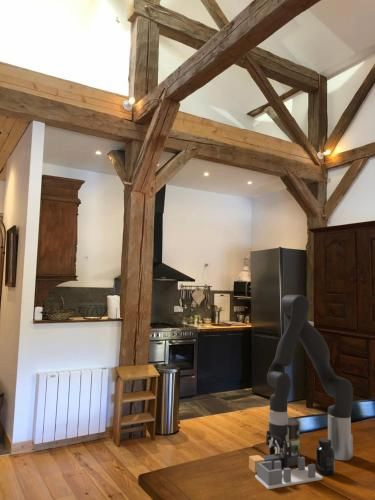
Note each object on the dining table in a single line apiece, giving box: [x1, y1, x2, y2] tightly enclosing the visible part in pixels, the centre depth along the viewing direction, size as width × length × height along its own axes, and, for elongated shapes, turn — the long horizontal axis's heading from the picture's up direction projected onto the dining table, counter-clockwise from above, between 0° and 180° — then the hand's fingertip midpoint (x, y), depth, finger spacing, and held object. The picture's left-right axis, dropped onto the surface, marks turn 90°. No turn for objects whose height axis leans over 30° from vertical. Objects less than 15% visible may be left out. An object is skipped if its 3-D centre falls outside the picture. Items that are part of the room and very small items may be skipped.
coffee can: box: [275, 417, 301, 460], centre depth 167 cm, size 10×10×14 cm
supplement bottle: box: [315, 437, 336, 477], centre depth 152 cm, size 7×7×12 cm
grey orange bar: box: [248, 452, 298, 474], centre depth 155 cm, size 20×4×4 cm, turn 111°
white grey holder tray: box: [254, 456, 324, 490], centre depth 146 cm, size 24×9×6 cm, turn 111°
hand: (278, 462), depth 155 cm, fingers open, 8 cm apart
